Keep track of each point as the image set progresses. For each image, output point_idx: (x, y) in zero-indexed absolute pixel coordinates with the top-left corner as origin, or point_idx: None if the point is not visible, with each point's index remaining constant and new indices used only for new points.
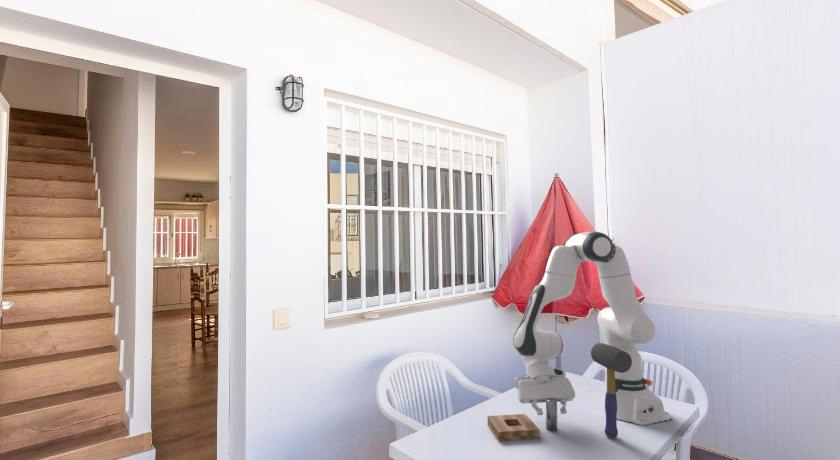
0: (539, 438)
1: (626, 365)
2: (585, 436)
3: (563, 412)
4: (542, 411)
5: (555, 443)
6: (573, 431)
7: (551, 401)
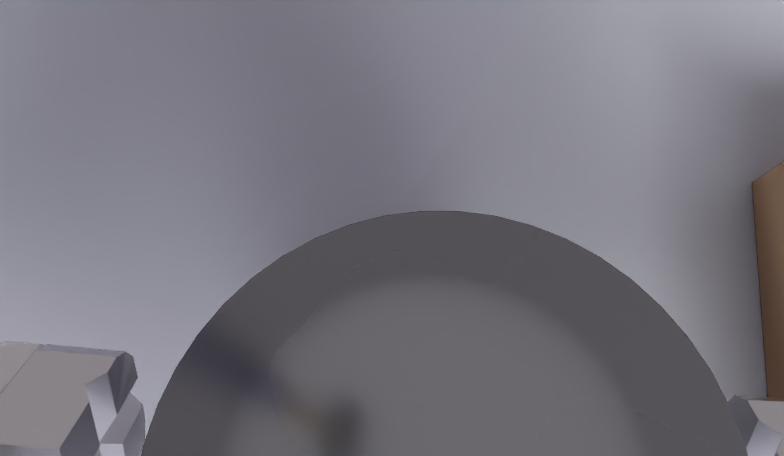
0: (758, 180)
1: None
2: (41, 123)
3: (107, 357)
4: (770, 416)
5: (578, 29)
6: (105, 297)
7: (565, 280)
